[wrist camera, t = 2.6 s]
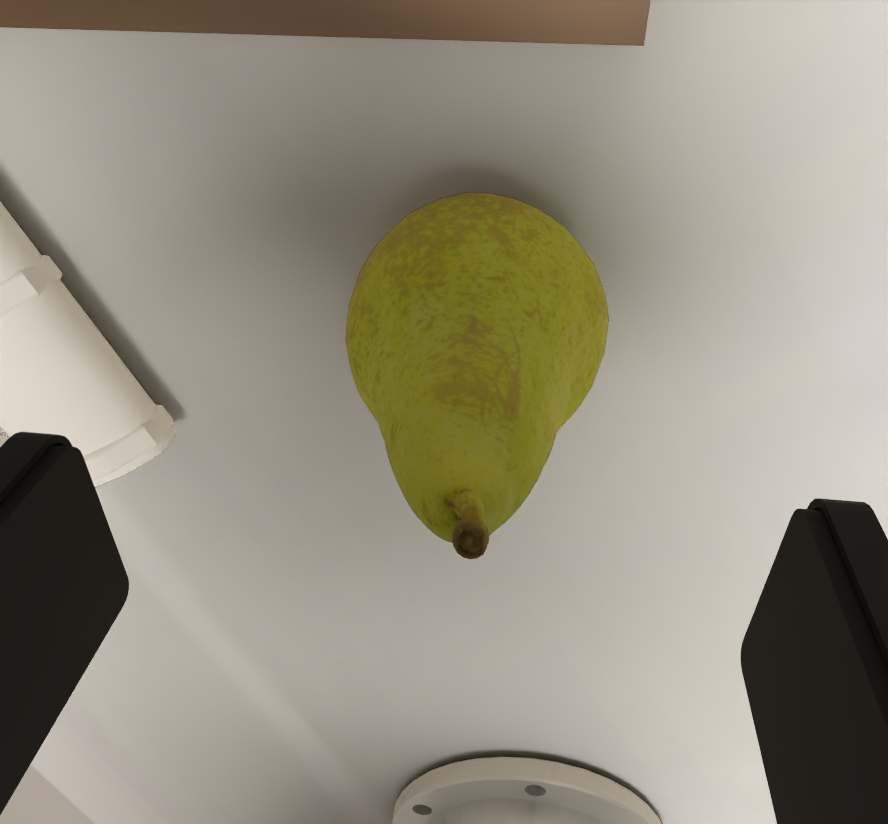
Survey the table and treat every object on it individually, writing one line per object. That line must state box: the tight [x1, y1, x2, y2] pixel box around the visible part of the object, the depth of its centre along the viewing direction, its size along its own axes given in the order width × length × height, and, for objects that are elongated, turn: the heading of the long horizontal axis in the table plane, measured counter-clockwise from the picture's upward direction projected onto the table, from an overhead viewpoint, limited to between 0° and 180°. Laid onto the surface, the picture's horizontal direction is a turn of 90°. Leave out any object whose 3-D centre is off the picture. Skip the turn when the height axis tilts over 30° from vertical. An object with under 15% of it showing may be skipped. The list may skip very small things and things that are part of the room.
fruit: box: [346, 193, 609, 559], centre depth 14 cm, size 6×6×12 cm
